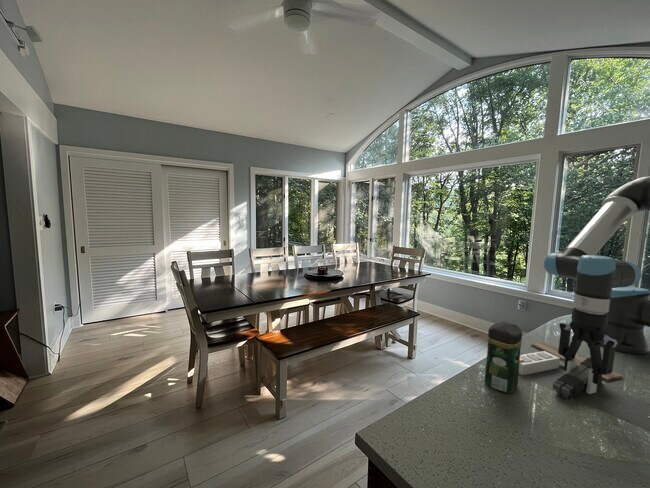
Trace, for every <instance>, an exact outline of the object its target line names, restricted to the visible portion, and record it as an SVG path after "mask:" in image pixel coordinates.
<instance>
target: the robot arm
mask: <svg viewBox="0 0 650 488" xmlns="http://www.w3.org/2000/svg"><path fill="white" fill-rule="evenodd" d="M642 211H650V176H644V177H643V176H642V177H639V178H637V179H634V180H632V181H628V182H626V183H625V184H623V185H621V186H619V187H617V189H615V190H613V191H612V192H611V193H610V194H609V195H607V196H606V197H605V198H604V199H603V201H602V202H601V208H600V209H599V210H598V212H597V213H596V214H595V215H594V216H593V217H592V218H591V219H590V220H589V222H587V224H585V226H584V227H583V228H582V230H580V231H579V232H578V234H577V235H576V236H575V237H574V238H573V239H572V240H571V241H570V243H569V244H568V245H567V246H566V247H565V248H564V249H563V250H562V251H561V252H560V253H558V252H552V253H549V254H547V256H546V257H545V258H544V261H543V267H544V270H545V272H546V273H548V274H550V275H554V276H557V277H558V278H559V277H560V278H565V279H566V278H567V279H573V280H575V290H574V294H573V295H574V296H573V302H572V303H573V304H572V305H573V308H572V309H571V310H572V311H571V317H570V318H571V322H570V323H568V322H560V323H559V325H558V326H559V329H560V333H559V343H558V348H559V350H558V353H559V354H560V355H562V356H563V357H564V358H565V361H564V365H563V366H564V368H565V369H566V370H565V369H564V370H565V371H566V372H565V374H566V373H569V372H570V371H572V370H573V369H575V368H576V365H577V361H576V360H573V359H575V355H577V353H578V351H579V349H580V347H581V345H582V343H583V342H585V343H586V344H587V347H588V348H589V349H588V350H589V355H590V358H591V362H592V369H593V370H591V371H589V376H588V383H587V388H586V393H587V394H588V395H591V394H595V393H597V389H598V388H597V387H598V385H599V384H602V382H601V379H602V374H603V375H606V374H611V373H612V371H613V368H614V360H615V354H616V351H618V352H620V353H621V352H622V353H627V354H633V355H634V354H635V355H645V354H647V353H648V350H649V345H648V342H647V341H648V340H647V339H646V335H645V332H644V329H645V327H648V328H650V290H649V289H647V288H642V287H633V285H636V284H637V283H638V282H640V280H641V278H642V271H641V269H640V267H639V266H638V265H636V264H635V263H633V262H630V261H627V260H626V261H625V260H615V259H614V258H613V257H610V256H605V255H596V254H598V252H599V251H600V250H601V249H602V248H603V246H604V245H605V244H606V243H607V242H608V241H609V240H610V238H611V237H613V235H614V234H615V233H616V232H617V231H618V229H619V228H620V227H621V226H622V225H623V224H624V223H625V222H626V221H627V219H629V218H633V217H634V216H635V215H636V214H637V213H638V212H642ZM571 331H572V332H571ZM571 333H573V334H572V337H571ZM602 346H603V352H602V351H601V350H602V349H601V347H602Z"/></svg>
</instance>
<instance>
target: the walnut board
mask: <svg viewBox="0 0 650 488" xmlns="http://www.w3.org/2000/svg"><path fill="white" fill-rule="evenodd" d="M531 347H533V348H535V349H537V350H540V352H541V351H546V352H548V353H550V354H552V355H554V356H557V357H559V358H560V360H561V361H563V362H565V358H564V357H563V356H562V355H560V354H559V353H558V350H559V346H556V345H553V344H552V343H549V342H547V341H540V342H535V343H531ZM586 359H587V358H584V357H581V356H579V355H577V354H576V355H575V359H573V360H576V361H577V365H576V367H577V366H579V365H580V363H581V362H583V361H584V360H586ZM602 378H603V380H602V381H606V382H610V381H615V380H619V379H622V378H623V375H622V374H620V373H618V372H615V371H613V370H612V373H611V374H606V375H603V374H602Z"/></svg>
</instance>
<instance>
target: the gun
mask: <svg viewBox="0 0 650 488" xmlns="http://www.w3.org/2000/svg"><path fill="white" fill-rule="evenodd" d="M585 359H586V360H584V361H583V362H581V363H580V365H579V366H577V367H576V368H575V369H573V370H572V371H570V372H569V373H566V372H565V373H564V374H563V375H561V376H560V377H559V378H557V379H556V381H554V382H553V383H552V389H553V390H555V392H556V394H557V395H558V396H560V397H563V398H564V399H566V400H568V398H569V399H570V398H572V397H574V396H576V395H578V394H580V393H581V392H582V391H583V390H584V389H587V383H588V376H589V371H591V370H593V369H592V362H591V357H587V358H585ZM602 381H604V380H603V378H602V379H601V383H602Z"/></svg>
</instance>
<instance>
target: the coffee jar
mask: <svg viewBox="0 0 650 488" xmlns="http://www.w3.org/2000/svg"><path fill="white" fill-rule="evenodd" d="M522 339H523V330H522V329H521V328H520V327H519V326H518V325H517V324H513V323H510V322H506V321H501V322H498V323H497V322H496V323H493V324H492V325H490V327H489V328H488V333H487V350H486V362H485V372H484V378H483V379H484V384H486V385H487V386H488V387H489V388H491V389H493V390H494V391H497V392H501V393H505V394H510V393H512V392H514V391H515V390H516V388H517V387H518V385H519V375H520V374H519V361H520V355H521V348H522V341H523V340H522Z"/></svg>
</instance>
